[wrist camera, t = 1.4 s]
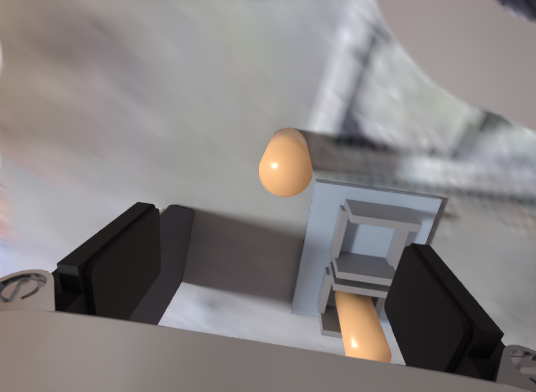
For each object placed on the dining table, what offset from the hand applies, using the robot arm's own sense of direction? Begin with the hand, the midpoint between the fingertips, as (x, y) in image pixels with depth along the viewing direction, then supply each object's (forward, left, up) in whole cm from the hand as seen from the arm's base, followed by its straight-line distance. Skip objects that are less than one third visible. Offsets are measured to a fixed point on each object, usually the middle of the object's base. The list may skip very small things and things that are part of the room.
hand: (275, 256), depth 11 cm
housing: (+12, +10, -20) cm, 25 cm away
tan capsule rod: (0, 0, -20) cm, 20 cm away
